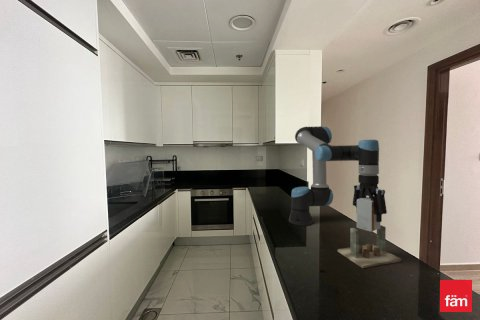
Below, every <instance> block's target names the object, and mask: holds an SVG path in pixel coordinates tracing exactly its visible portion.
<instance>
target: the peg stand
mask: <svg viewBox="0 0 480 320" xmlns="http://www.w3.org/2000/svg"><path fill="white" fill-rule="evenodd" d="M349 230H350V231H349V232H350V242H349V243H350V245H349V246H350V247H344V248H338V249H337V252H338V253H339V254H341V255H342V256H344V257H345V258H347V259H348V260H349V261H351V262H353V263H354V264H356V265H357V266H359V267H360V268H362V269H366V268H371V267H377V266H384V265H387V264H389V265H390V264H394V263H400V262H402V258H400V257H399V256H397V255H395V254H392V253H390V252H388V251H386V234H387V232H386V231H387V230H386V226H384V225H381V224H380V229H376V245H375V244H373V243H372V244H371V243H366V244H363V245H360V243H359V242H360V241H359V240H360V236H359V233H360V231H359V229H358V228H355V227H351V228H350V229H349Z"/></svg>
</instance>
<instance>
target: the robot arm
mask: <svg viewBox="0 0 480 320" xmlns="http://www.w3.org/2000/svg"><path fill="white" fill-rule="evenodd" d="M294 139H295V141H296V143H297V144H299V145H301V146H304V147H306V148H307V149H308V150H310V151H312V154H311V155H312V157H311V158H312V159H311V160H312V161H311V162H312V184H311V185H310V187H308V186H298V187H294V188H292V190H291V194H290V195H291V210H290V214H289V218H288V222H289V223H290V224H292V225H294V226H301V227H303V226H304V227H305V226H306V227H307V226H311V225H313V217H312V215H311V211H310V207H328V206H330V205H331V204H332V203H333V201H334V200H333V199H334V193H333V191H332V189H331V188H330V186H329V185H328V184H327V162H343V161H344V162H349V161H351V162H352V161H353V162H357V161H358V178H357V179H358V180H357V181H358V183H359V184H358V185H357V184H355V185H353V189H354V191H353V197H352V198H353V199H352V206H354V207H355V208H356V214H357V199H360V198H366V197H369V198H370V199H371V201H374V210H375V213H374V229H376V230H377V229H380V225H381V223H382V219H383V217H382V215H386V214H388V211H387V204H386V199H385V194H386V190H385V189H381V188H379V187H378V184H379V183H380V180H379V179H380V177H379V174H380V172H379V171H380V167H379V165H380V163H379V162H380V159H379V157H380V145H379V144H380V143H379V140H377V139H361V140H359V141H358V144H356V145H355V144H354V145H353V144H352V145H331V144H330V143H331V142H332V139H333V134H332V132H331V129H330V128H328V127H327V126H322V125H321V126H303V127H300V128H299V129H298V130H297V131H296V132H295V135H294Z"/></svg>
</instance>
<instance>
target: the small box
mask: <svg viewBox="0 0 480 320" xmlns="http://www.w3.org/2000/svg"><path fill="white" fill-rule="evenodd" d="M374 213H375V210H374V201H371V199H370V198H369V196H366V198H360V199H357V213H356V229H361V230H362V231H363V230H364V231H367V232H371V233H372V232H374V231H377V229H374Z"/></svg>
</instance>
